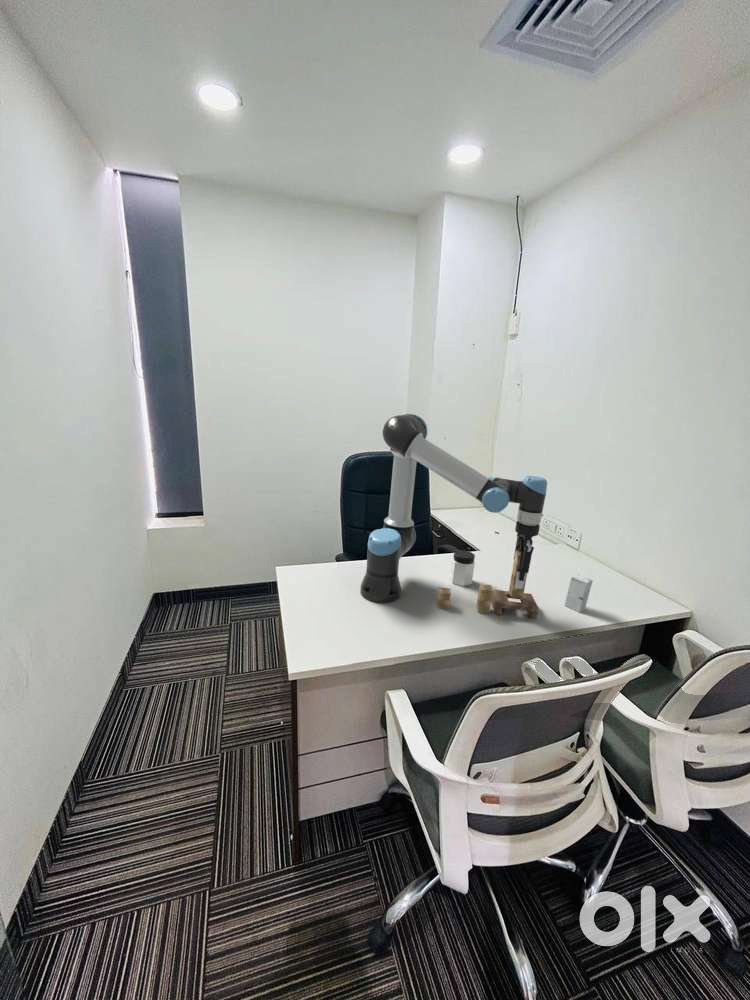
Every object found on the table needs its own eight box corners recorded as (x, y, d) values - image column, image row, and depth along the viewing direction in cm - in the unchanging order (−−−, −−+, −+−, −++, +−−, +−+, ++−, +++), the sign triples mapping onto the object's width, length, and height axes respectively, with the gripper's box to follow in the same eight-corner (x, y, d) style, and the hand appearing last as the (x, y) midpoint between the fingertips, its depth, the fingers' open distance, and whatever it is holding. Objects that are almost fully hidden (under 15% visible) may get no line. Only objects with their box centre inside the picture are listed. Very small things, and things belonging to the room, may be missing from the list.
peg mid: (477, 612, 145) (481, 589, 143) (476, 606, 149) (479, 584, 146) (489, 613, 145) (493, 590, 142) (487, 608, 148) (491, 585, 146)
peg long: (510, 597, 145) (518, 555, 141) (508, 591, 149) (515, 550, 145) (522, 598, 145) (530, 556, 140) (520, 593, 149) (527, 551, 144)
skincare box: (563, 605, 154) (570, 575, 151) (570, 602, 157) (576, 573, 153) (580, 613, 149) (587, 582, 146) (586, 609, 152) (593, 580, 149)
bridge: (495, 614, 144) (497, 603, 143) (490, 600, 154) (492, 589, 153) (536, 619, 143) (538, 607, 142) (529, 604, 153) (531, 593, 151)
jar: (448, 575, 172) (452, 549, 168) (468, 576, 172) (472, 550, 168) (452, 586, 163) (456, 558, 160) (473, 587, 163) (477, 559, 160)
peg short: (437, 607, 146) (439, 592, 145) (437, 602, 150) (439, 587, 148) (448, 609, 146) (451, 593, 144) (448, 603, 150) (450, 588, 148)
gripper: (547, 531, 131) (534, 597, 137) (533, 515, 147) (522, 575, 154) (522, 529, 132) (511, 595, 138) (511, 513, 148) (502, 573, 154)
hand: (517, 584), depth 146 cm, fingers closed on peg long, 4 cm apart
